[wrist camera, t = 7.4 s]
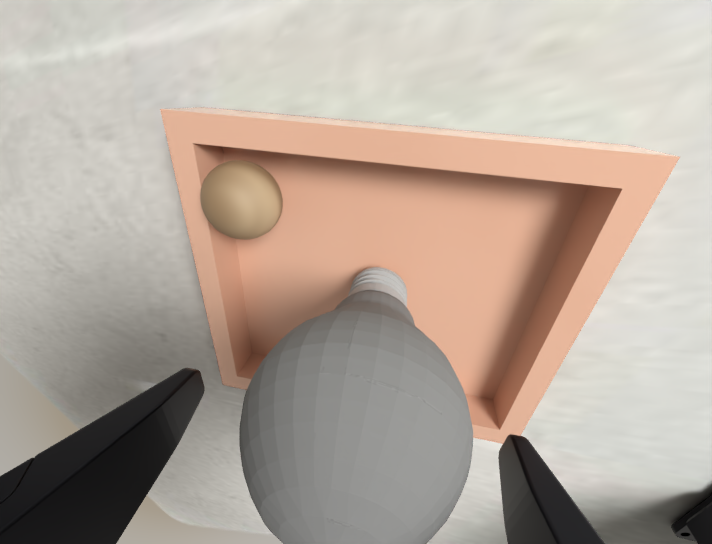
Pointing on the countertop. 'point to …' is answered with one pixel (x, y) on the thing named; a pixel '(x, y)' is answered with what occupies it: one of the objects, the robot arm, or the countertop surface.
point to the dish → (418, 239)
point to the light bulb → (356, 425)
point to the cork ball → (241, 199)
